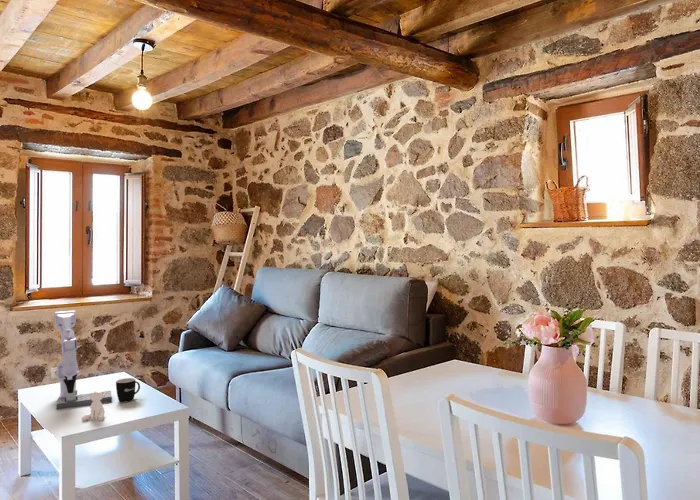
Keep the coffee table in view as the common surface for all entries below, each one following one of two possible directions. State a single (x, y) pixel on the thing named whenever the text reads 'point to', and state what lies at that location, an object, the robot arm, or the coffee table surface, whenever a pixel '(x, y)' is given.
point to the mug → (126, 389)
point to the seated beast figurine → (95, 408)
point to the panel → (82, 400)
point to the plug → (71, 395)
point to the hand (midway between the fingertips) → (70, 391)
